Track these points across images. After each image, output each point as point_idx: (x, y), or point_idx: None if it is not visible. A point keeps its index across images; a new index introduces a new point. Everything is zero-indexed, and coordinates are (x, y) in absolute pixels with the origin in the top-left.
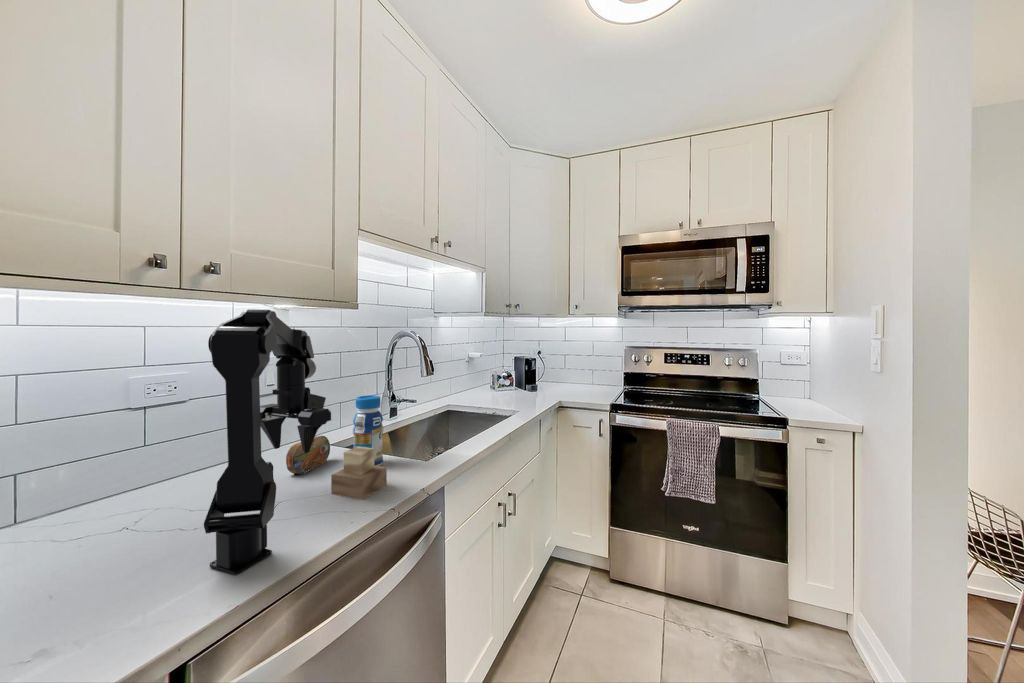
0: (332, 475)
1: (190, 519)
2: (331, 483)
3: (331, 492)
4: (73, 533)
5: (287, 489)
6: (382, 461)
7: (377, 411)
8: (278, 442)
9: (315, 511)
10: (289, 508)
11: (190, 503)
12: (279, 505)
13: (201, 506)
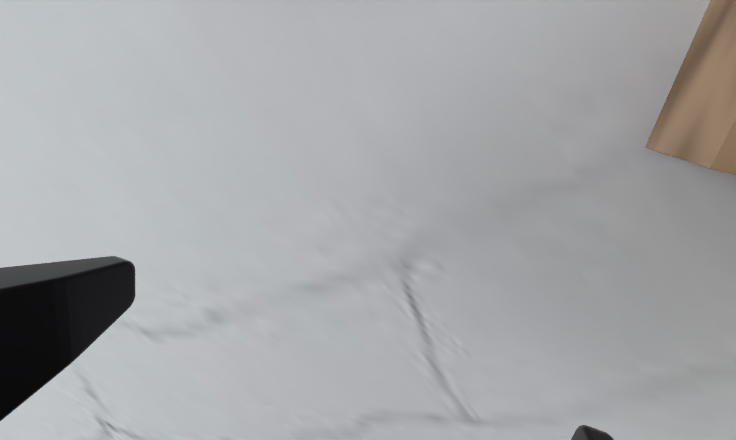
0: (720, 169)
1: (205, 392)
2: (676, 157)
3: (649, 147)
4: (38, 435)
5: (332, 118)
6: None
7: None
8: (73, 304)
9: (655, 361)
10: (493, 328)
11: None
12: (424, 298)
13: (148, 306)
